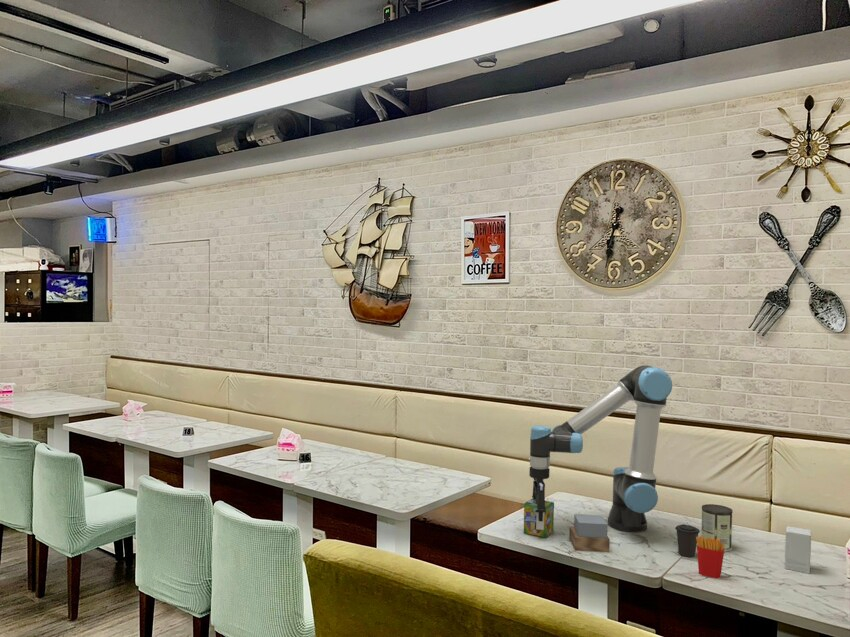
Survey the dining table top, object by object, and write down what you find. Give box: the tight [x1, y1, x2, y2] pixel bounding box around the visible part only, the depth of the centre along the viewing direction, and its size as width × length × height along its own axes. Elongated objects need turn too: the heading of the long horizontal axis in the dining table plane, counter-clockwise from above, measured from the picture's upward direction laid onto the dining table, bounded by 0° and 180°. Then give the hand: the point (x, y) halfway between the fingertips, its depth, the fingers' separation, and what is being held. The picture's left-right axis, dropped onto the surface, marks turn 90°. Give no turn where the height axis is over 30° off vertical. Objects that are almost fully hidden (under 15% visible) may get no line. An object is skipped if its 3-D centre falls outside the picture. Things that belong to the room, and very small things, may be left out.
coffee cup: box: [674, 523, 701, 559], centre depth 219 cm, size 8×8×10 cm
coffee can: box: [700, 503, 733, 553], centre depth 228 cm, size 10×10×14 cm
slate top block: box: [573, 513, 609, 538], centre depth 226 cm, size 10×10×5 cm
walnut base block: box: [568, 525, 611, 553], centre depth 226 cm, size 12×12×5 cm
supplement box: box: [784, 525, 812, 574], centre depth 210 cm, size 7×7×13 cm
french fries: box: [696, 535, 725, 579], centre depth 202 cm, size 8×4×12 cm, turn 59°
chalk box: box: [523, 494, 555, 539], centre depth 238 cm, size 9×9×15 cm
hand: (537, 523), depth 238 cm, fingers closed on chalk box, 12 cm apart
